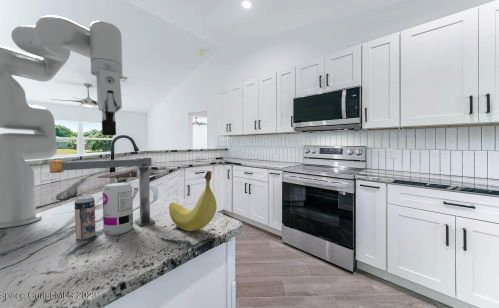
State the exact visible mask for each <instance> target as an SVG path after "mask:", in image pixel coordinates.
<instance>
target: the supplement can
mask: <svg viewBox="0 0 499 308" xmlns="http://www.w3.org/2000/svg"><path fill="white" fill-rule="evenodd" d="M133 199H134V198H133V187H132V185H131V183H130V182H124V181H123V182H112V183H107V184H106V183H105V184H104V187H103V189H102V220H103V221H102V223H103V225H102V226H103V232H104V233H105V234H106V235H108V236H109V235H111V236H112V235H113V236H114V235H121V234H125V233H128V232H129V231H131V230H132V229H133V228H134V210H133V209H134V208H133V207H134V205H133V203H134V202H133Z"/></svg>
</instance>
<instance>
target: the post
mask: <svg viewBox="0 0 499 308" xmlns="http://www.w3.org/2000/svg"><path fill="white" fill-rule="evenodd" d="M138 175H139V177H138V182H139V184H138V185H139V186H138V187H139V189H138V191H139V219H137V220H134V223H135V225H137V226H138V227H144V226H148V225H152V224H153V225H154V224H156V220H154V219H153V218H151V204H150V203H151V199H150V196H151V193H150V192H151V190H150V187H151V186H150V166H146V167H138Z"/></svg>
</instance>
